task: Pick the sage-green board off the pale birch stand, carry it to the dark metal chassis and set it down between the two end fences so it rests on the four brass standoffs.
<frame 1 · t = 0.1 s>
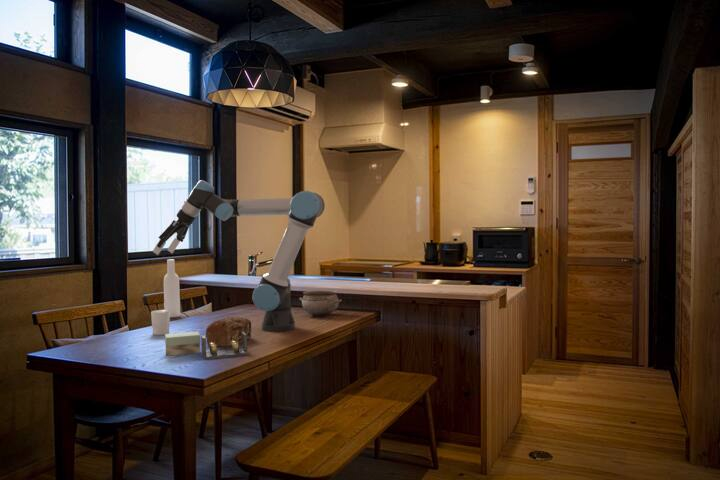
hand: (162, 252, 256), 36 cm above the table, tool tilted 35°, fingers open, 13 cm apart
bottle: (172, 316, 306), on the table
stand: (183, 353, 216), on the table
white cup: (161, 334, 257), on the table
board: (182, 342, 216), point 4 cm above the table, touching stand
bread: (229, 343, 235), on the table
cooking pot: (320, 316, 298), on the table
chassis: (224, 354, 213), on the table
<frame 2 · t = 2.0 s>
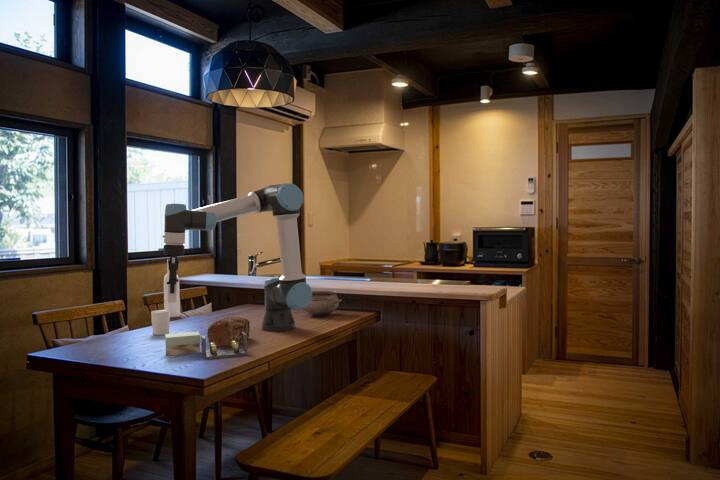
hand: (172, 300, 219), 19 cm above the table, tool pointing down, fingers open, 13 cm apart
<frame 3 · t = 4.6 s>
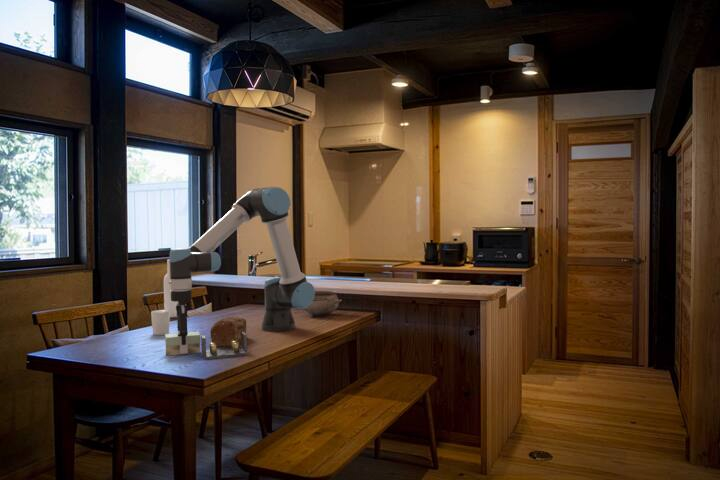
hand: (182, 350, 216), 1 cm above the table, tool pointing down, fingers closed on board, 8 cm apart
board: (182, 342, 216), point 4 cm above the table, touching gripper, stand
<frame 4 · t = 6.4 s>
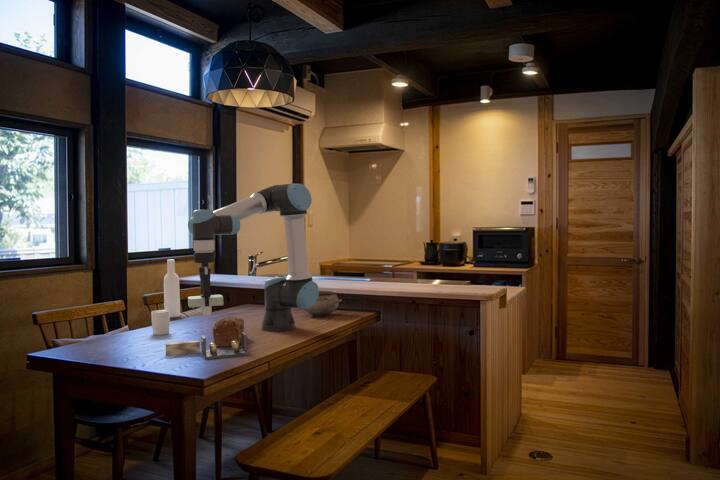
hand: (206, 313, 214), 15 cm above the table, tool pointing down, fingers closed on board, 8 cm apart
board: (205, 304, 214), point 18 cm above the table, touching gripper
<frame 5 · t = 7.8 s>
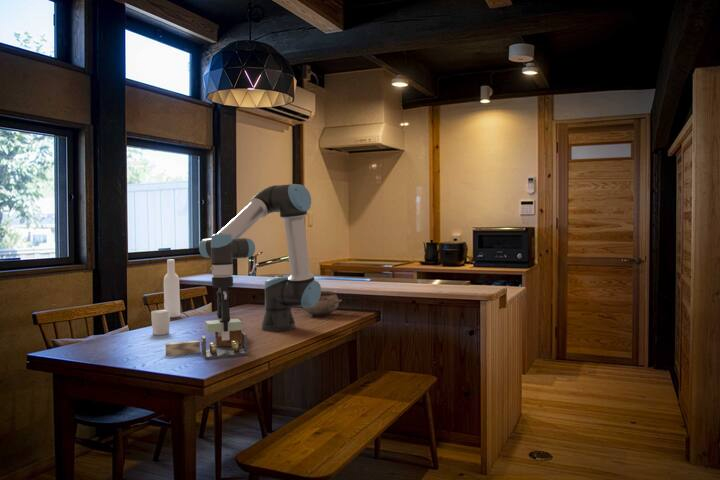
hand: (223, 338, 213), 6 cm above the table, tool pointing down, fingers closed on board, 8 cm apart
board: (223, 329, 213), point 9 cm above the table, touching gripper
when the fingers open (3 cm above the table, at t = 8.7 s): board drops 2 cm, resting on chassis.
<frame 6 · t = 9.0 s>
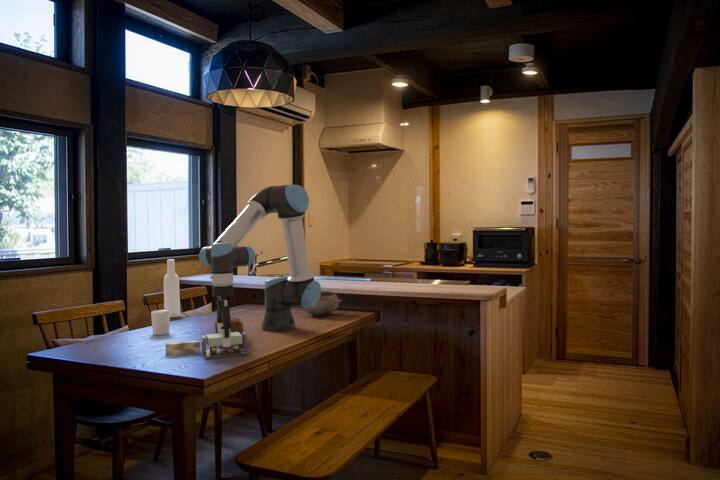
hand: (224, 343, 213), 4 cm above the table, tool pointing down, fingers open, 12 cm apart
board: (224, 343, 213), point 4 cm above the table, touching chassis
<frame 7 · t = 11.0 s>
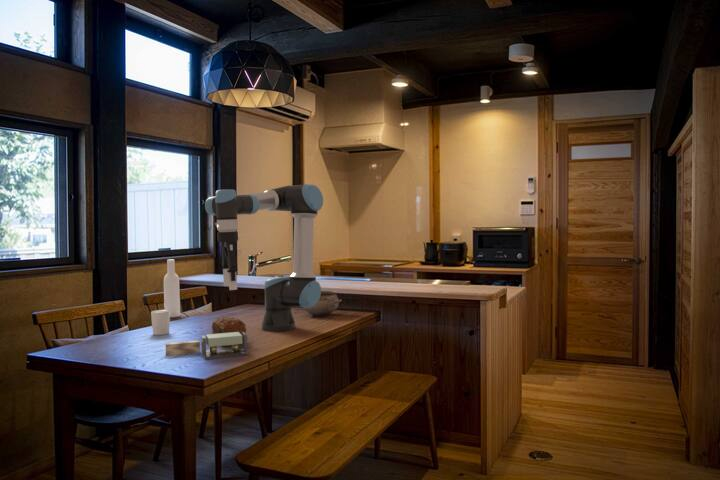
hand: (230, 287, 218), 24 cm above the table, tool pointing down, fingers open, 13 cm apart
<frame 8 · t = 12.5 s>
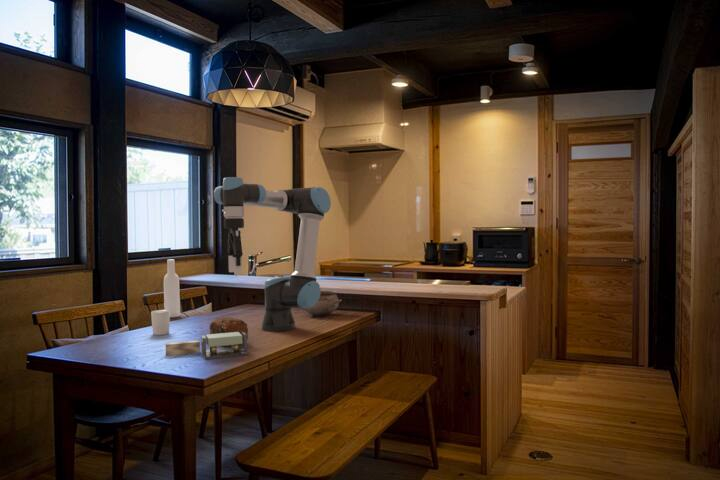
hand: (235, 273, 222), 29 cm above the table, tool pointing down, fingers open, 13 cm apart
at the end: board 0.0 cm off-centre on the chassis, point 4.0 cm above the chassis's base; board touching chassis; board tilted 0° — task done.
